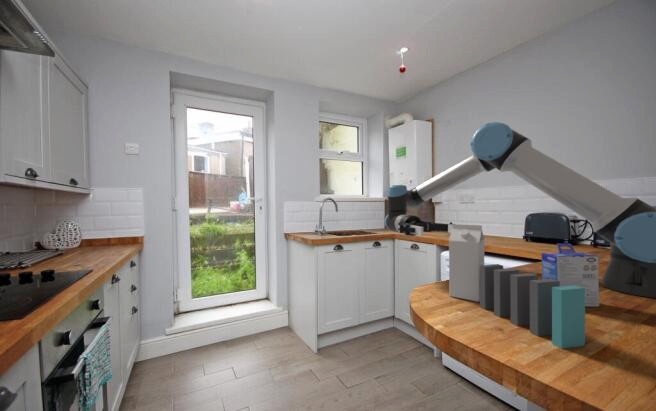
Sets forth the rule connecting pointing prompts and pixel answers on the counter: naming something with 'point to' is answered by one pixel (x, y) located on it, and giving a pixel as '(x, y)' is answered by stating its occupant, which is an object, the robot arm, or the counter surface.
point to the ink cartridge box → (573, 271)
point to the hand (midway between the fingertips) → (442, 231)
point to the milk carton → (465, 261)
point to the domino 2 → (502, 291)
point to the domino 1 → (487, 285)
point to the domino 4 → (541, 306)
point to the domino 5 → (568, 316)
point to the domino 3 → (521, 298)
